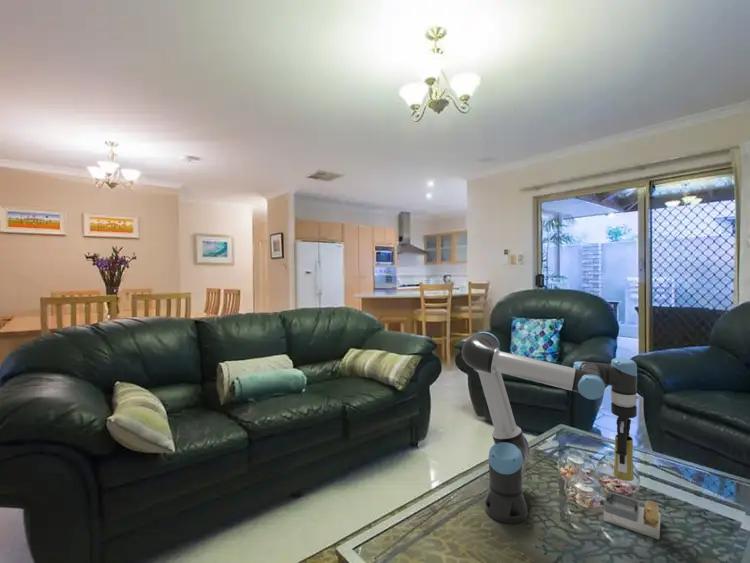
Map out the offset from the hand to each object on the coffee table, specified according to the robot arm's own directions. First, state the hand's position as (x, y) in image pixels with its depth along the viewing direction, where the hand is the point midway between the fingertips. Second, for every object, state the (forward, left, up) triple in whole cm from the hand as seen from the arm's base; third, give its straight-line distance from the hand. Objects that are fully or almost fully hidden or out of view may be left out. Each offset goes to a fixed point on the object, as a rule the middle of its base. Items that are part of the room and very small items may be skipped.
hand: (623, 467), depth 139 cm
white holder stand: (+3, 0, -19) cm, 19 cm away
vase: (0, 0, -4) cm, 4 cm away
